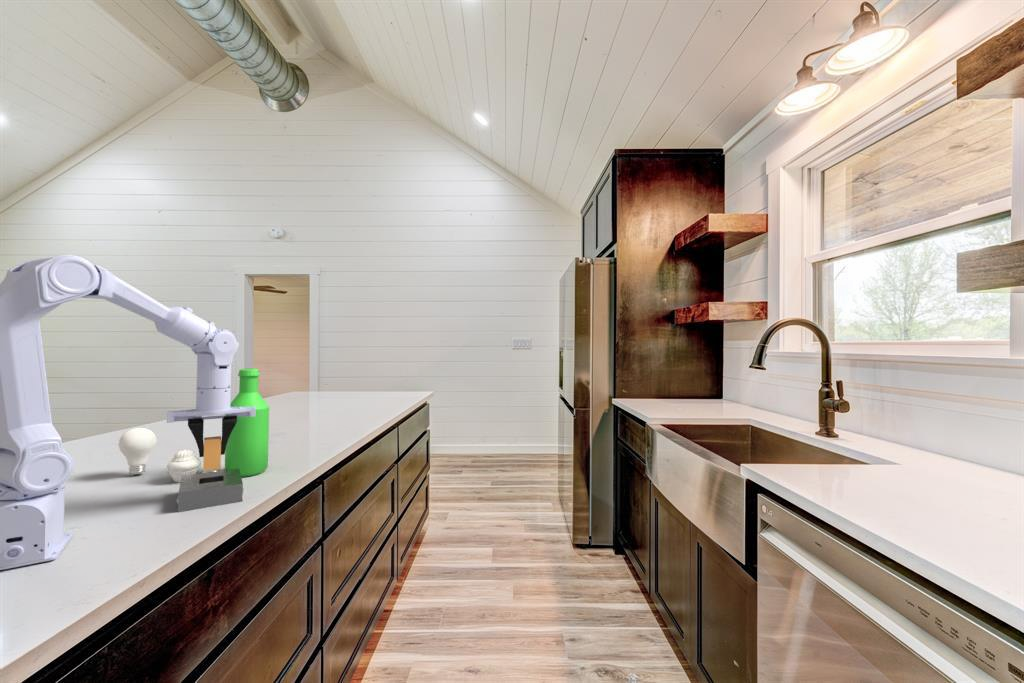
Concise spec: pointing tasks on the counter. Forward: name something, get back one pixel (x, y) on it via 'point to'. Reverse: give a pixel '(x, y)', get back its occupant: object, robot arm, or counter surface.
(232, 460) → the bottle
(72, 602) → the counter surface
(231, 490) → the grey slotted block
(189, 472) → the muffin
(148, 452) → the light bulb
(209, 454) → the orange rectangular block
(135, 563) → the counter surface
